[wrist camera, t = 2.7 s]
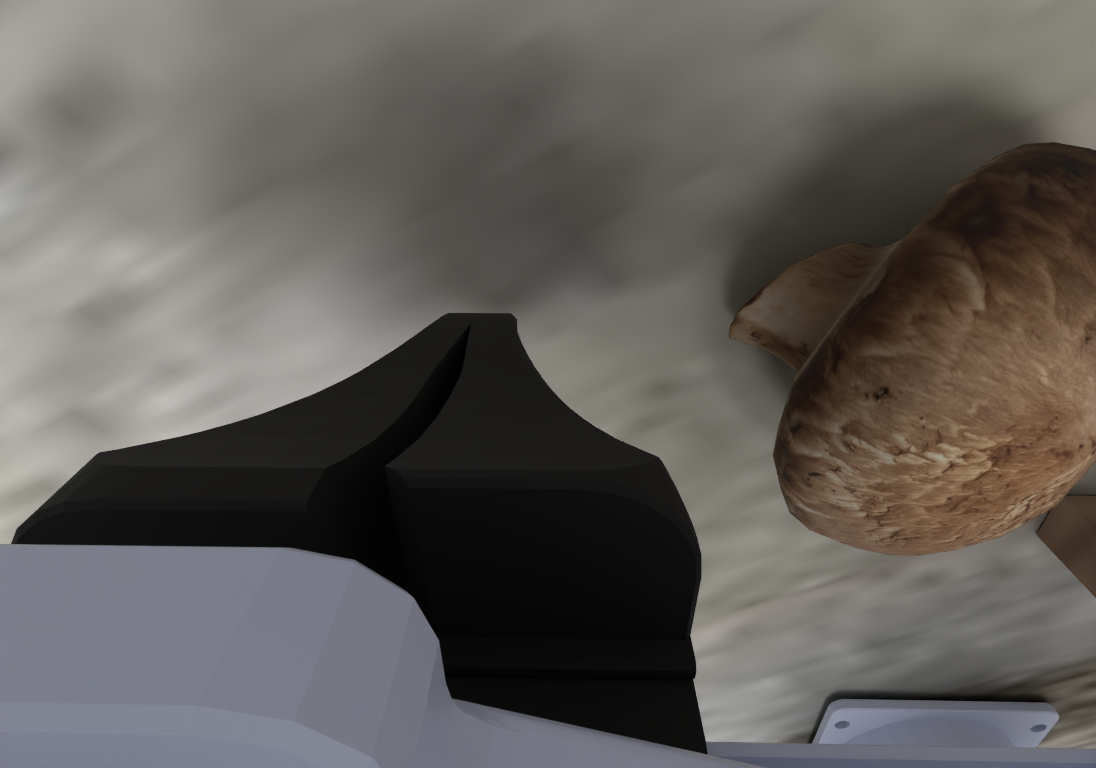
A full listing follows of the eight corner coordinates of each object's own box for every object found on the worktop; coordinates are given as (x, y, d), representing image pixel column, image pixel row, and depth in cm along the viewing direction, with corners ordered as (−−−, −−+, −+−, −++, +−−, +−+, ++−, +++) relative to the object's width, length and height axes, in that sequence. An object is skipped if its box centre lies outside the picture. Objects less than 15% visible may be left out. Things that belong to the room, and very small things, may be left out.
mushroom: (591, 368, 11) (950, 629, 6) (865, -2, 10) (1436, 27, 6) (729, 472, 17) (959, 641, 13) (905, 244, 16) (1202, 341, 12)
